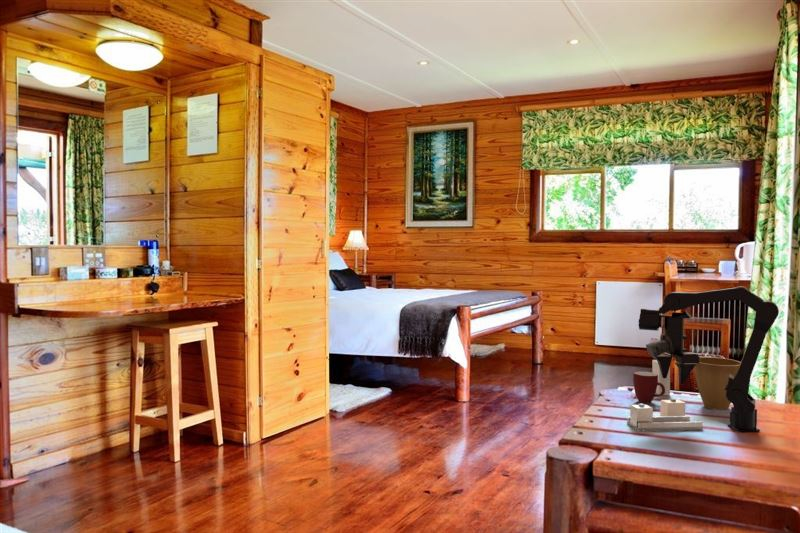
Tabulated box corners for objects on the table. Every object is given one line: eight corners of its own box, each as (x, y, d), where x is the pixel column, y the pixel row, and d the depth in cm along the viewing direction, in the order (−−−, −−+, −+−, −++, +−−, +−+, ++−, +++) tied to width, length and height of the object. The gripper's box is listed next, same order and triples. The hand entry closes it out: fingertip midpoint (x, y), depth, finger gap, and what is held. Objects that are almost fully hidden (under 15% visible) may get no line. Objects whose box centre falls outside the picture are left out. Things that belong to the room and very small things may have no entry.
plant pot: (686, 401, 224) (687, 356, 224) (730, 403, 222) (732, 357, 222) (700, 411, 209) (701, 363, 209) (747, 414, 207) (749, 365, 207)
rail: (687, 422, 196) (688, 400, 196) (702, 429, 188) (703, 406, 188) (626, 423, 193) (627, 401, 193) (639, 431, 186) (640, 407, 186)
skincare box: (670, 395, 233) (671, 362, 232) (658, 395, 232) (659, 362, 232) (662, 391, 239) (663, 359, 238) (651, 391, 238) (652, 359, 238)
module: (677, 416, 203) (678, 397, 203) (684, 420, 199) (685, 400, 199) (660, 417, 202) (660, 397, 202) (667, 420, 198) (667, 400, 198)
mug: (666, 402, 222) (667, 373, 222) (663, 407, 215) (664, 377, 215) (634, 398, 227) (635, 370, 227) (630, 402, 220) (631, 374, 220)
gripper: (634, 328, 207) (633, 375, 207) (667, 336, 188) (666, 388, 189) (665, 328, 209) (664, 375, 209) (701, 335, 190) (700, 387, 191)
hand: (672, 381), depth 199 cm, fingers open, 9 cm apart
